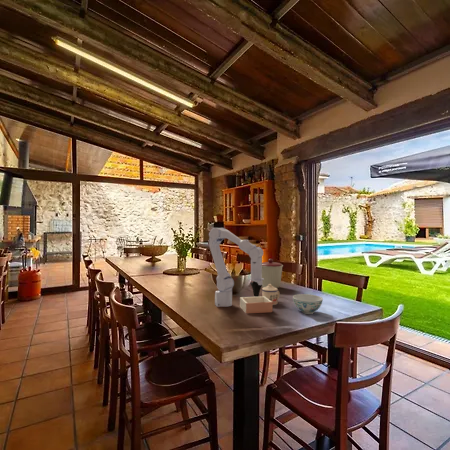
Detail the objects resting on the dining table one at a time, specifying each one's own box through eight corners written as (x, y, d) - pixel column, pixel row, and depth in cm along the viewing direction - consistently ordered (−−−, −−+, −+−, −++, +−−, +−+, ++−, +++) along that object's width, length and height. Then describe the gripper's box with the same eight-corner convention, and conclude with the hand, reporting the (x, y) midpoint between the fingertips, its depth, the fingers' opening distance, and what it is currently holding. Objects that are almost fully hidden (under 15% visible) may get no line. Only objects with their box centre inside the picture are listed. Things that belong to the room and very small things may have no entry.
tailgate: (246, 313, 143) (246, 303, 143) (246, 313, 144) (246, 303, 144) (272, 312, 146) (272, 302, 146) (271, 311, 147) (271, 301, 147)
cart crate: (245, 315, 144) (245, 303, 144) (239, 308, 156) (239, 297, 156) (272, 313, 147) (272, 301, 147) (264, 307, 159) (264, 296, 159)
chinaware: (316, 308, 157) (316, 294, 157) (327, 316, 142) (327, 301, 142) (289, 308, 157) (289, 294, 157) (297, 317, 142) (297, 301, 142)
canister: (280, 285, 219) (280, 257, 219) (285, 290, 201) (285, 260, 201) (257, 284, 219) (257, 257, 219) (259, 290, 201) (259, 260, 201)
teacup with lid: (269, 307, 158) (269, 286, 158) (258, 304, 165) (258, 283, 165) (284, 304, 164) (285, 284, 164) (273, 301, 172) (273, 281, 172)
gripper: (268, 272, 144) (268, 299, 144) (259, 268, 158) (259, 292, 158) (254, 272, 143) (254, 300, 143) (247, 268, 157) (246, 293, 157)
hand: (256, 296), depth 150 cm, fingers closed
